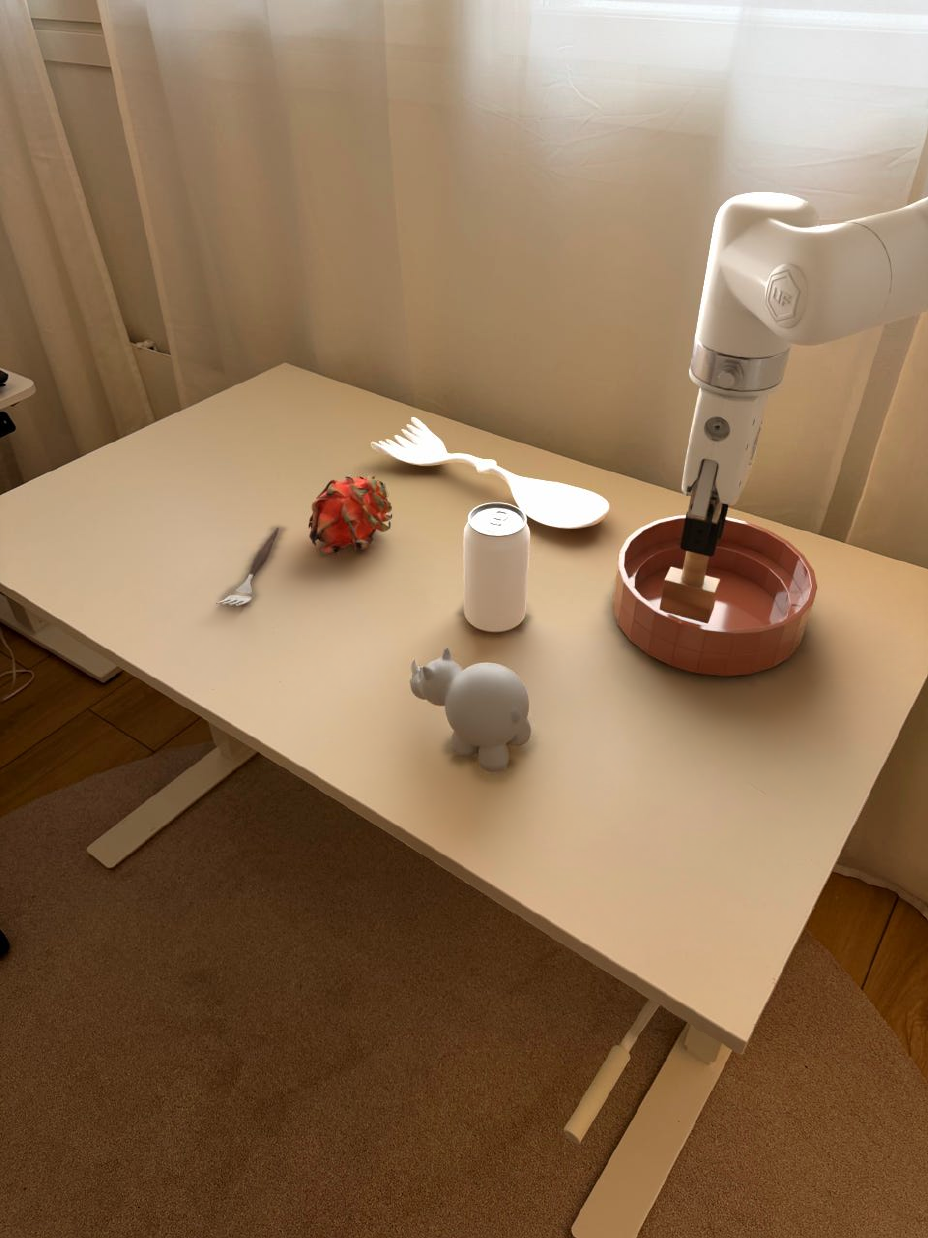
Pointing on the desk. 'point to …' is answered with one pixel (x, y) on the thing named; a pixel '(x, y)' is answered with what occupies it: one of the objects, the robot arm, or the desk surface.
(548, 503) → the spoon
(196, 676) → the desk surface
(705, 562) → the wooden stamp
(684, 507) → the desk surface
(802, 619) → the bowl
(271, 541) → the fork
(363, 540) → the dragon fruit
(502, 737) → the chubby cartoon animal
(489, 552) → the can
